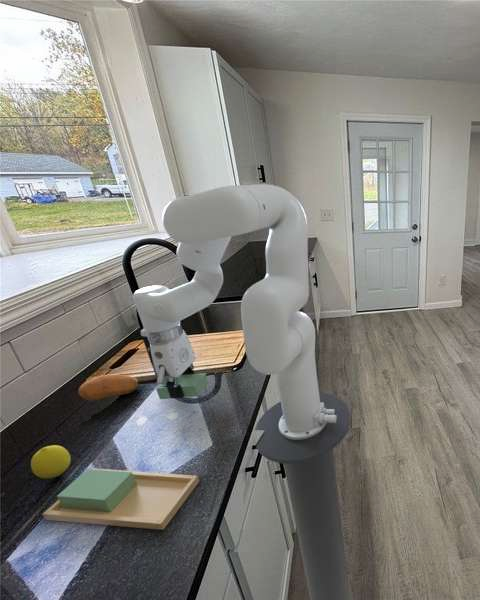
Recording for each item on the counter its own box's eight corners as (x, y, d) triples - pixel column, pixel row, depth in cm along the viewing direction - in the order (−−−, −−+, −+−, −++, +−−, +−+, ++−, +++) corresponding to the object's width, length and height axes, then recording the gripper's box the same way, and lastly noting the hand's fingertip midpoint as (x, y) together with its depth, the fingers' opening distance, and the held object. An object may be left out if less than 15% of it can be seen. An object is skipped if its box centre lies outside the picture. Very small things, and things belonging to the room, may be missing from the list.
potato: (88, 396, 94) (83, 374, 92) (142, 387, 99) (138, 366, 98) (78, 408, 88) (72, 385, 86) (135, 398, 93) (131, 376, 92)
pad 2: (208, 383, 91) (205, 373, 90) (198, 396, 86) (194, 385, 85) (172, 385, 91) (169, 375, 89) (159, 399, 85) (155, 388, 84)
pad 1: (137, 484, 66) (131, 472, 65) (110, 512, 61) (104, 499, 59) (93, 480, 67) (87, 469, 66) (63, 508, 61) (56, 496, 60)
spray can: (155, 383, 99) (135, 327, 92) (159, 374, 104) (140, 319, 96) (175, 379, 101) (157, 323, 94) (178, 370, 106) (161, 316, 98)
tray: (199, 481, 67) (197, 475, 67) (163, 530, 58) (160, 524, 57) (96, 473, 69) (94, 468, 69) (45, 519, 60) (42, 514, 59)
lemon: (82, 462, 72) (69, 436, 69) (63, 484, 67) (47, 456, 64) (55, 466, 71) (39, 439, 68) (32, 488, 66) (15, 460, 63)
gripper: (159, 348, 74) (181, 409, 80) (197, 318, 90) (212, 371, 96) (126, 350, 73) (150, 412, 80) (169, 319, 89) (187, 373, 96)
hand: (184, 389), depth 88 cm, fingers closed on pad 2, 6 cm apart
